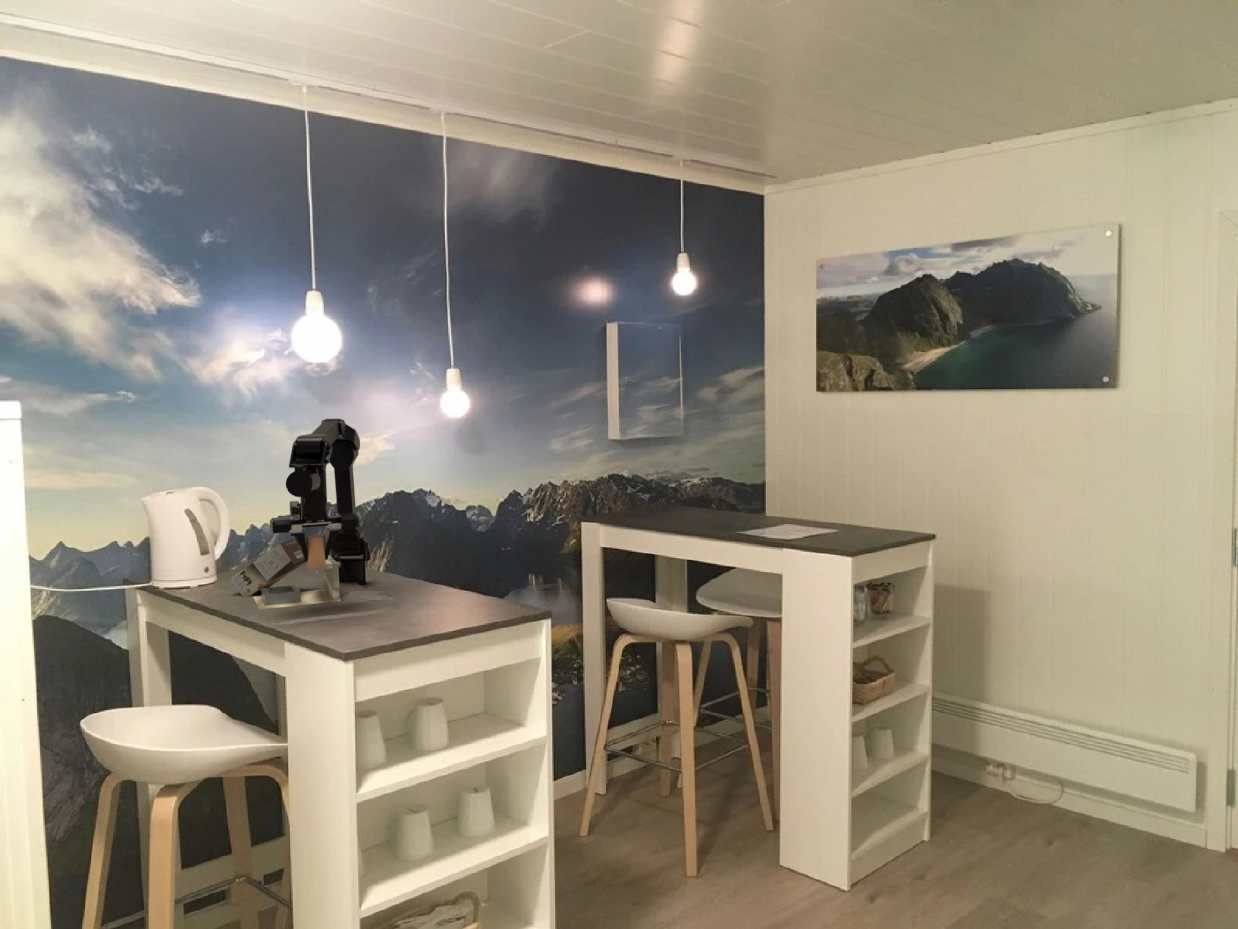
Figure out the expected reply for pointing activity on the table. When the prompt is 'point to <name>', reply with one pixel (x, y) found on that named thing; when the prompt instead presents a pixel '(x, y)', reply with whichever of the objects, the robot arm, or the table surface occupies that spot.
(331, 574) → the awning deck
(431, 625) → the table surface
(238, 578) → the coffee box
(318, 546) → the peg
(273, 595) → the socket
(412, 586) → the table surface
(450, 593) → the table surface
